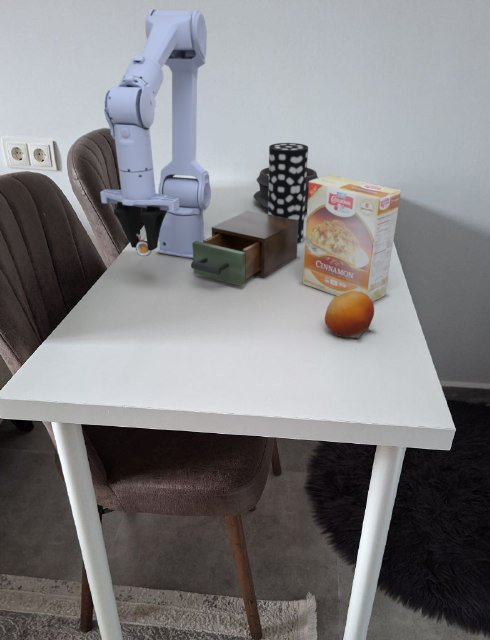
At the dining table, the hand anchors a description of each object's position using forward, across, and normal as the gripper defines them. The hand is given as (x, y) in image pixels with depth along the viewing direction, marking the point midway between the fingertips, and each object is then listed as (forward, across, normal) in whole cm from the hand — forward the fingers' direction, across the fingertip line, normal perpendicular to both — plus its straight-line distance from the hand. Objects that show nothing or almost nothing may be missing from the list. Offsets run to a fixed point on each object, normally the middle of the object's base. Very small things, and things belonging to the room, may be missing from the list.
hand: (144, 247), depth 103 cm
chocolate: (+2, 0, 0) cm, 2 cm away
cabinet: (+9, +13, +22) cm, 27 cm away
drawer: (+8, +11, +13) cm, 19 cm away
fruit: (+9, +39, 0) cm, 40 cm away
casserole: (+9, +4, +65) cm, 66 cm away
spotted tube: (+9, +14, +38) cm, 42 cm away
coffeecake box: (+9, +34, +16) cm, 38 cm away
